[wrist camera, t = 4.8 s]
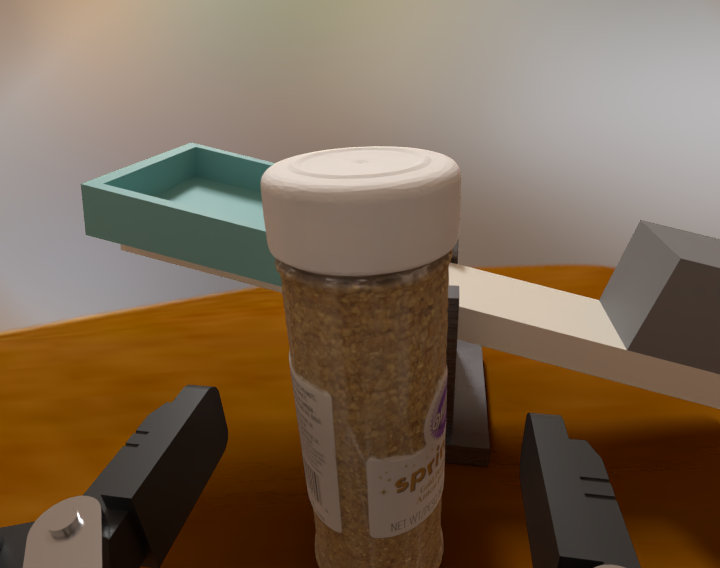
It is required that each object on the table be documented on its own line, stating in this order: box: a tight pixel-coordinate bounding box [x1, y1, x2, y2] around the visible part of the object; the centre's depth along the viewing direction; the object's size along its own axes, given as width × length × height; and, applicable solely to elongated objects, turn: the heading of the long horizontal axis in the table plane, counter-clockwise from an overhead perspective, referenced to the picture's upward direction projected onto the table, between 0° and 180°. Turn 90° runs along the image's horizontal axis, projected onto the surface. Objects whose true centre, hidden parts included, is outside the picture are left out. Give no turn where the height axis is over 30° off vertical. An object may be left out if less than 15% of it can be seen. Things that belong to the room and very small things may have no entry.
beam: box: [81, 143, 720, 409], centre depth 20 cm, size 26×8×6 cm, turn 79°
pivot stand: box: [445, 237, 490, 467], centre depth 22 cm, size 6×8×8 cm
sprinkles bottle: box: [261, 146, 461, 568], centre depth 14 cm, size 5×5×14 cm
